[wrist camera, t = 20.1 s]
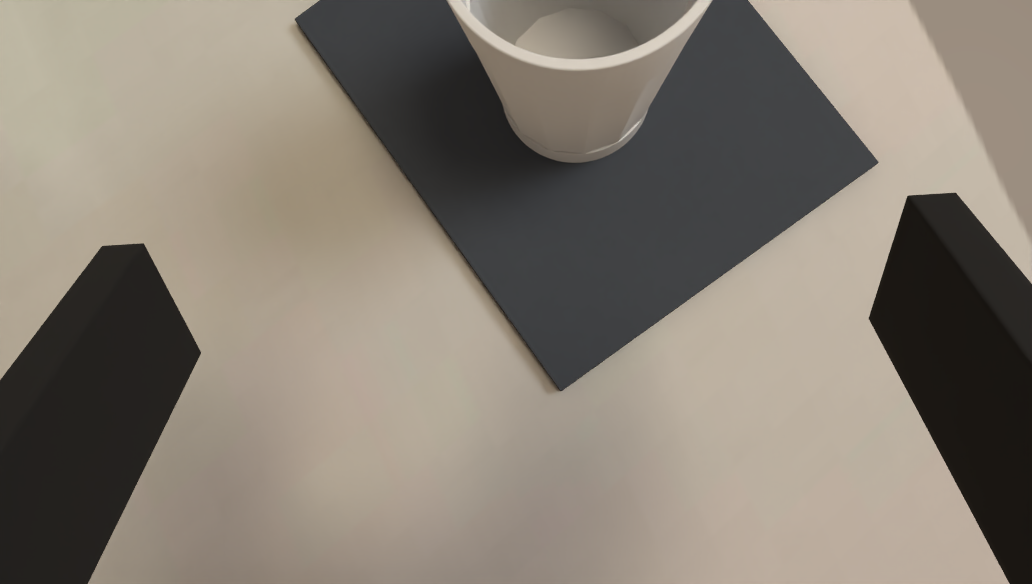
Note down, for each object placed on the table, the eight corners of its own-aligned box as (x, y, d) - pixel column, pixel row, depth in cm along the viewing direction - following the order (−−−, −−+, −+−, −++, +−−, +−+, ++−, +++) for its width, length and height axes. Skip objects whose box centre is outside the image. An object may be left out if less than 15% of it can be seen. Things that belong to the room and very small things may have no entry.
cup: (644, -22, 30) (693, -263, 19) (691, 156, 30) (774, 25, 18) (464, 25, 31) (397, -180, 19) (505, 202, 30) (464, 104, 18)
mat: (298, 23, 32) (294, 18, 31) (588, -189, 32) (588, -198, 31) (561, 390, 30) (560, 391, 29) (874, 165, 30) (879, 162, 29)
